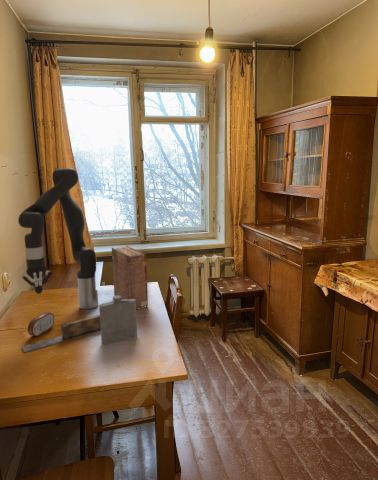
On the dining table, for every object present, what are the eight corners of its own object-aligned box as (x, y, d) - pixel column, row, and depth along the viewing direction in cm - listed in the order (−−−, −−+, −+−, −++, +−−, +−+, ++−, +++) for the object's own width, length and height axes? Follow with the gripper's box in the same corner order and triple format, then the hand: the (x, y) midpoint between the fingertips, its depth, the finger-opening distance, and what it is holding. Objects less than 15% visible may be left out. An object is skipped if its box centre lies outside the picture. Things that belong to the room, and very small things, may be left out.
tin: (51, 324, 173) (49, 308, 171) (56, 325, 172) (54, 309, 170) (28, 338, 159) (26, 321, 157) (33, 339, 158) (31, 322, 156)
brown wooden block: (101, 325, 170) (100, 313, 169) (104, 328, 167) (103, 316, 166) (62, 336, 160) (61, 323, 158) (64, 339, 156) (63, 326, 155)
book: (114, 297, 208) (111, 247, 202) (128, 293, 213) (126, 245, 207) (132, 311, 188) (130, 256, 182) (148, 307, 193) (146, 253, 187)
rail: (102, 325, 171) (102, 324, 171) (106, 329, 167) (106, 328, 167) (21, 347, 151) (21, 346, 150) (24, 352, 147) (24, 351, 146)
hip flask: (102, 344, 152) (99, 301, 148) (100, 340, 156) (97, 298, 152) (138, 337, 159) (136, 295, 155) (135, 333, 162) (133, 292, 158)
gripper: (48, 252, 164) (51, 288, 168) (17, 257, 157) (21, 294, 161) (52, 256, 158) (56, 292, 162) (20, 260, 151) (25, 299, 155)
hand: (38, 293), depth 161 cm, fingers closed
